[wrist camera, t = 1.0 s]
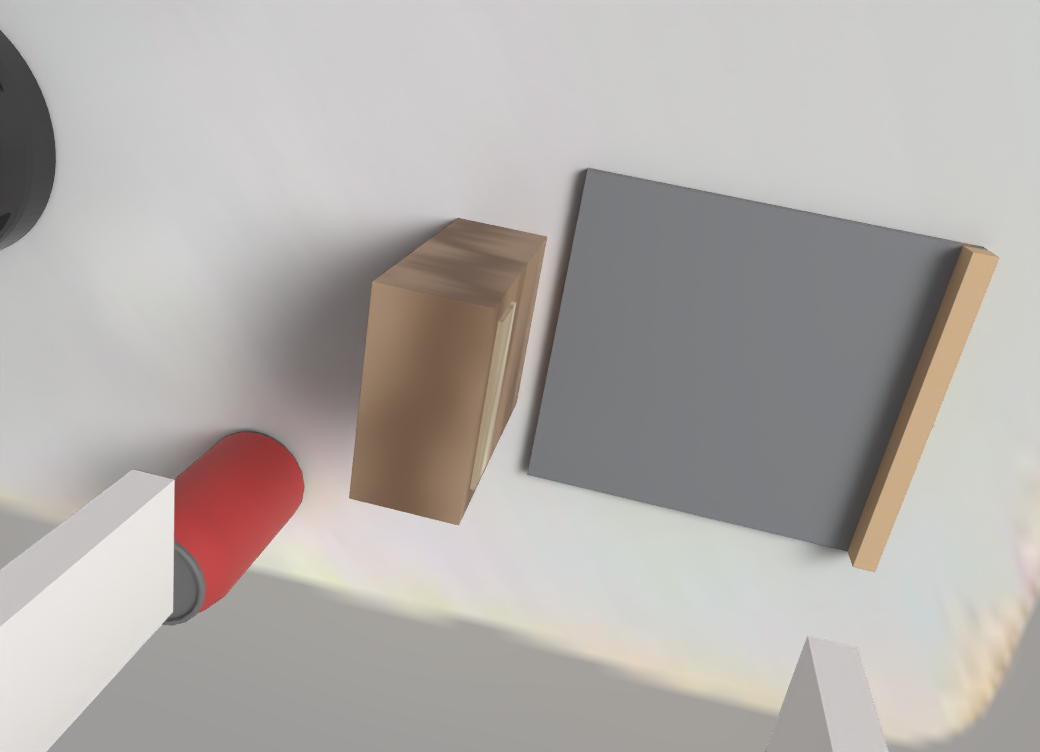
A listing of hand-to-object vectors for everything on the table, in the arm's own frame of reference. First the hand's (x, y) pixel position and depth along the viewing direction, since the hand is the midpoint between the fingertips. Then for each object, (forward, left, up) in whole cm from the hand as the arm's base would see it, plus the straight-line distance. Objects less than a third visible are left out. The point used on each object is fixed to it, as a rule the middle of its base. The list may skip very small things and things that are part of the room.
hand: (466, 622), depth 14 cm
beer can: (-19, -20, -34) cm, 44 cm away
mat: (+8, -6, -34) cm, 35 cm away
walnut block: (-6, -6, -34) cm, 35 cm away
